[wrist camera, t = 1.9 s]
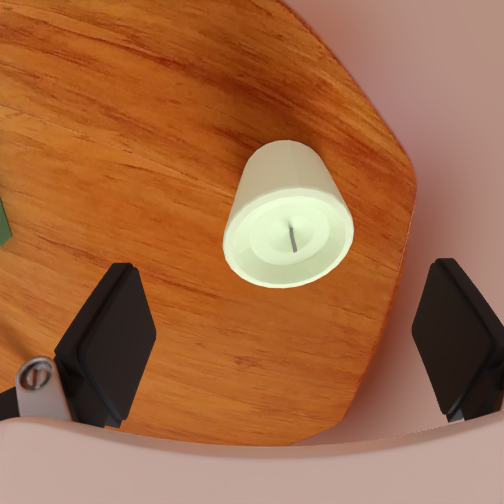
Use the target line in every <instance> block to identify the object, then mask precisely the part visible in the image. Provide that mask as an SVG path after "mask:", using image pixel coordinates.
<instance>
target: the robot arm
mask: <svg viewBox="0 0 504 504" xmlns="http://www.w3.org/2000/svg"><path fill="white" fill-rule="evenodd" d="M412 336H413V338H414V341H415V343H416V346H417V348H418V351H419V353H420V355H421V358H422V361H423V363H424V366H425V368H426V371H427V374H428V376H429V379H430V381H431V384H432V387H433V389H434V392H435V395H436V398H437V401H438V404H439V407H440V410H441V412H442V413H443V414H444V415H445V414H446V417H447V420H448V422H453V421H457V420H461V419H462V418H463V417H464V420H465V421H464V422H460V423H456V424H452V425H448V426H444V427H439V428H435V429H431V430H426V431H421V432H417V433H412V434H407V435H401V436H396V437H389V438H382V439H375V440H369V441H359V442H351V443H340V444H329V445H313V446H283V447H262V446H232V445H216V444H203V443H193V442H184V441H176V440H168V439H161V438H155V437H148V436H143V435H137V434H131V433H125V432H120V431H115V430H110V429H105V428H104V426H105V425H106V426H111V427H115V428H120V425H121V422H122V420H126V419H127V417H128V414H129V411H130V408H131V405H132V403H133V400H134V397H135V394H136V391H137V388H138V386H139V383H140V380H141V377H142V375H143V372H144V369H145V366H146V364H147V361H148V358H149V356H150V353H151V350H152V348H153V345H154V342H155V340H156V328H155V325H154V322H153V319H152V316H151V313H150V309H149V306H148V303H147V299H146V296H145V293H144V289H143V286H142V282H141V278H140V275H139V271H138V269H137V268H136V267H133V265H132V264H131V263H113V264H112V265H111V267H110V268H109V270H108V271H107V272H106V274H105V275H104V276H103V278H102V279H101V281H100V282H99V283H98V285H97V286H96V288H95V289H94V291H93V292H92V293H91V295H90V296H89V298H88V299H87V301H86V302H85V304H84V305H83V307H82V308H81V310H80V311H79V313H78V314H77V316H76V317H75V319H74V320H73V322H72V323H71V325H70V326H69V328H68V329H67V331H66V332H65V334H64V336H63V337H62V339H61V340H60V342H59V344H58V345H57V347H56V348H55V350H54V352H55V354H56V356H55V358H54V359H53V360H52V359H51V358H50V357H47V356H37V357H34V358H31V359H30V360H28V361H26V362H25V363H24V364H23V365H22V366H21V367H20V369H19V370H18V372H17V375H16V381H15V384H16V386H15V387H13V388H11V389H9V390H6V391H4V392H2V393H0V504H504V326H503V325H502V323H501V322H500V320H499V319H498V317H497V316H496V314H495V313H494V312H493V310H492V309H491V307H490V306H489V304H488V303H487V302H486V300H485V299H484V297H483V296H482V294H481V293H480V292H479V290H478V289H477V288H476V286H475V285H474V284H473V283H472V281H471V280H470V279H469V277H468V276H467V275H466V273H465V272H464V271H463V269H462V268H461V267H460V266H459V264H458V263H457V262H456V261H455V260H454V259H453V258H438V259H437V260H436V261H435V263H432V264H431V266H430V269H429V273H428V276H427V280H426V284H425V287H424V290H423V294H422V297H421V300H420V303H419V306H418V309H417V312H416V316H415V318H414V321H413V324H412Z"/></svg>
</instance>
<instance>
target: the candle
mask: <svg viewBox="0 0 504 504" xmlns="http://www.w3.org/2000/svg"><path fill="white" fill-rule="evenodd" d="M353 233H354V226H353V220H352V216H351V214H350V212H349V210H348V208H347V206H346V204H345V202H344V200H343V198H342V196H341V194H340V192H339V190H338V188H337V187H336V185H335V183H334V181H333V179H332V177H331V175H330V173H329V172H328V170H327V168H326V166H325V164H324V163H323V161H322V160H321V158H320V156H319V155H318V154H317V153H316V152H315V151H314V150H312V149H311V148H310V147H308V146H306V145H304V144H302V143H300V142H295V141H291V140H280V141H274V142H271V143H268V144H266V145H264V146H262V147H261V148H259V149H258V150H256V151H255V152H254V154H253V155H252V156H251V157H250V158H249V160H248V162H247V164H246V166H245V168H244V171H243V174H242V177H241V180H240V183H239V186H238V189H237V193H236V196H235V199H234V202H233V205H232V209H231V212H230V215H229V218H228V222H227V225H226V228H225V232H224V239H223V250H224V255H225V259H226V261H227V262H228V264H229V265H230V267H231V269H232V270H233V271H234V272H235V273H237V274H238V275H239V276H240V277H241V278H243V279H245V280H247V281H249V282H251V283H253V284H256V285H260V286H264V287H269V288H288V287H295V286H300V285H303V284H306V283H309V282H312V281H314V280H316V279H318V278H320V277H322V276H324V275H326V274H327V273H328V272H330V271H331V270H332V269H333V268H334V267H336V266H337V265H338V264H339V263H340V261H341V260H342V259H343V258H344V256H345V255H346V254H347V252H348V250H349V248H350V245H351V243H352V240H353Z"/></svg>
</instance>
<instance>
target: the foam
mask: <svg viewBox="0 0 504 504" xmlns="http://www.w3.org/2000/svg"><path fill="white" fill-rule="evenodd" d="M11 237H12V234H11V231H10V228H9V225H8V222H7V219H6V216H5V213H4V210H3V206H2V203H1V200H0V247H1V246H2V245H3V244H4V243H5V242H6V241H7V240H9V239H10V238H11Z"/></svg>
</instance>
